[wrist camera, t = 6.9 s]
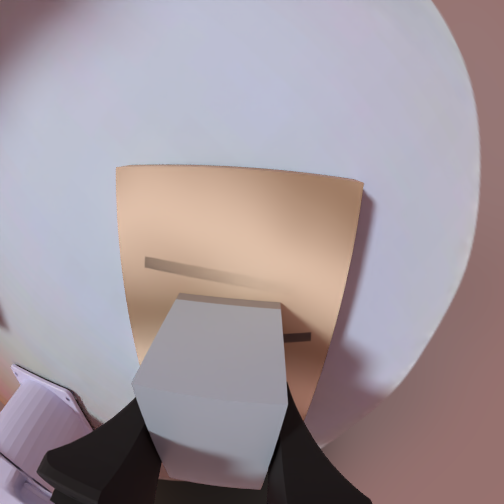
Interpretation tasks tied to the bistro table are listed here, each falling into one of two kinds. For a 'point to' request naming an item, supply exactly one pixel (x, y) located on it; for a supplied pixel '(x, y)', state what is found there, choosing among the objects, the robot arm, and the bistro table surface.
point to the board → (239, 250)
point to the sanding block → (215, 389)
